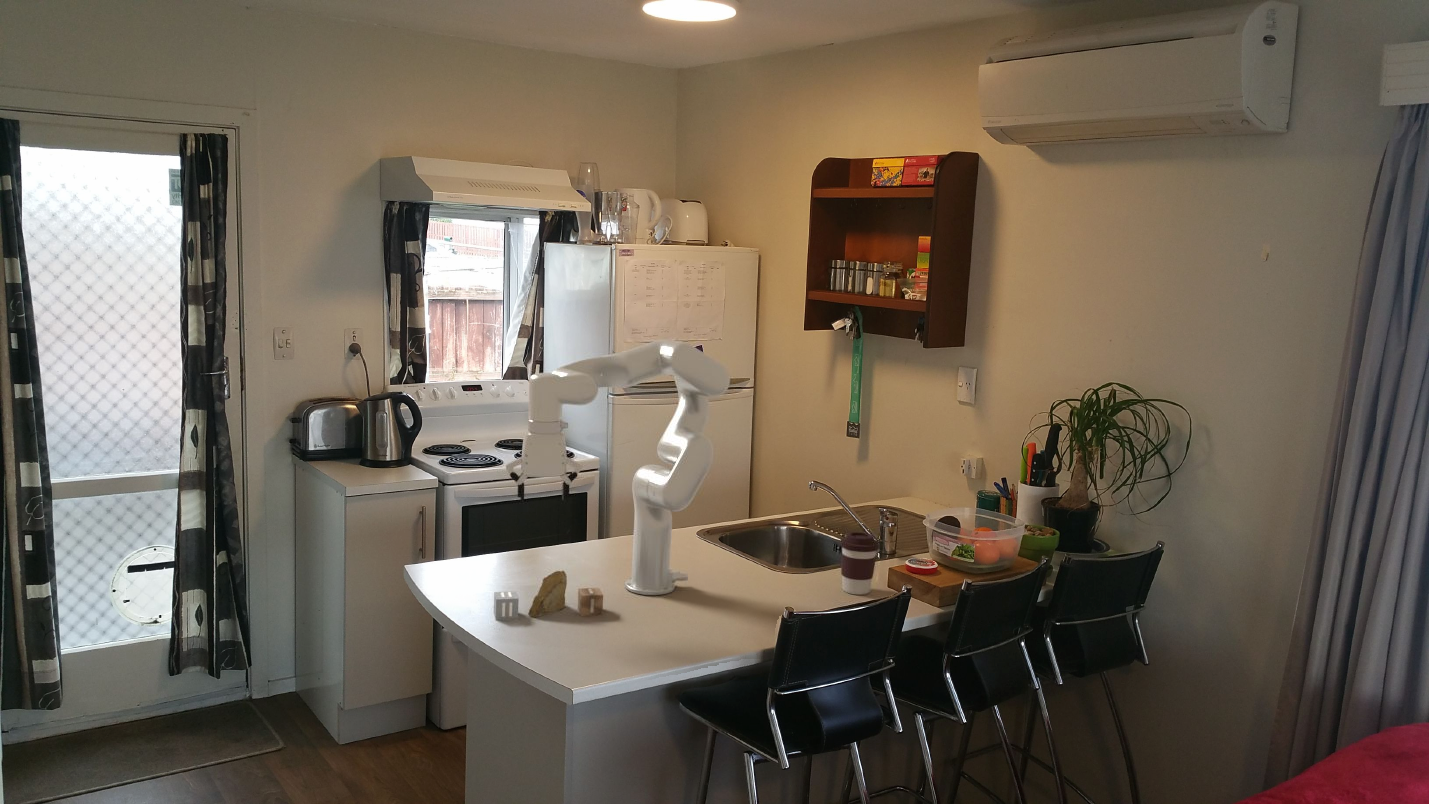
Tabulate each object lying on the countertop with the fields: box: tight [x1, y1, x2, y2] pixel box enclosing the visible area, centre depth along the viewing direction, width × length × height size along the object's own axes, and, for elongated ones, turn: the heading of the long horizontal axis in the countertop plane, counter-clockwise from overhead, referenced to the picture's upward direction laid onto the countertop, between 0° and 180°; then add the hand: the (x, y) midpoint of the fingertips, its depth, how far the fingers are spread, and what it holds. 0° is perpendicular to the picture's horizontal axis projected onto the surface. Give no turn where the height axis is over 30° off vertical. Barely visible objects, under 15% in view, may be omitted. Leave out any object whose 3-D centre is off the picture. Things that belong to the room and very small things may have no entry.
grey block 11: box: [493, 590, 520, 621], centre depth 238 cm, size 5×5×5 cm
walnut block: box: [577, 587, 604, 617], centre depth 244 cm, size 5×5×5 cm
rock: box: [527, 570, 568, 618], centre depth 243 cm, size 11×9×10 cm
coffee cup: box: [839, 531, 880, 596], centre depth 269 cm, size 10×10×15 cm
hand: (543, 500), depth 240 cm, fingers open, 9 cm apart
